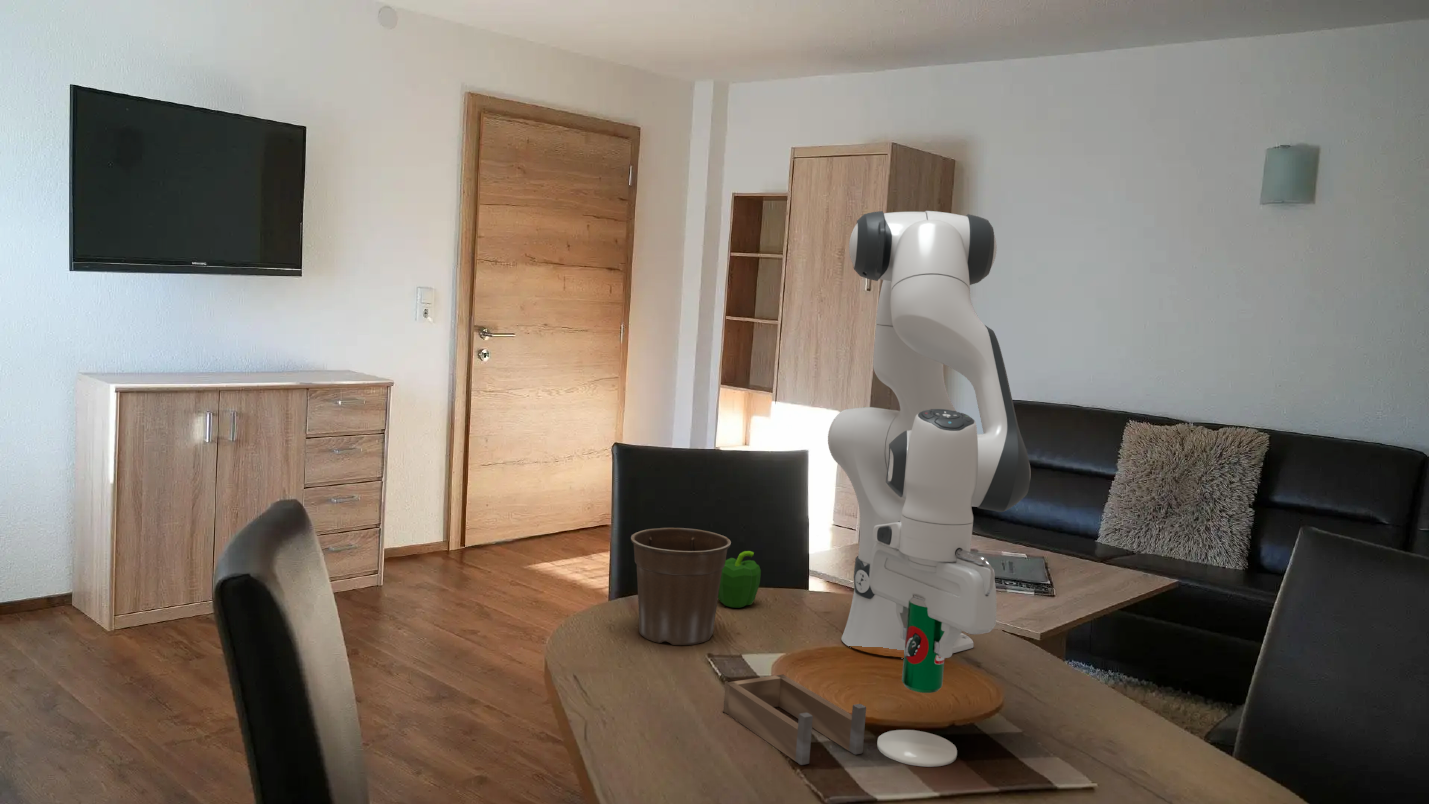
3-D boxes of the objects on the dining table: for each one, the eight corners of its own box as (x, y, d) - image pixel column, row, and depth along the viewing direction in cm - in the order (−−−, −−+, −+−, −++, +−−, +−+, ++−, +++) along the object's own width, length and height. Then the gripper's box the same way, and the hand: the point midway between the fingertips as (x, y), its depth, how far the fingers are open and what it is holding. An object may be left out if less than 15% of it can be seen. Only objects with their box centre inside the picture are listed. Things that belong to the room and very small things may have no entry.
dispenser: (781, 702, 155) (784, 660, 155) (862, 753, 140) (866, 707, 139) (723, 711, 151) (726, 668, 150) (800, 765, 135) (804, 717, 134)
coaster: (920, 729, 149) (921, 725, 148) (973, 759, 140) (973, 754, 140) (861, 740, 143) (861, 736, 143) (912, 772, 135) (912, 767, 135)
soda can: (942, 696, 138) (950, 602, 137) (900, 691, 139) (909, 597, 138) (941, 683, 143) (949, 592, 142) (901, 678, 144) (909, 587, 143)
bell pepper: (707, 607, 199) (711, 553, 198) (717, 596, 207) (721, 543, 207) (753, 613, 198) (757, 558, 197) (762, 601, 206) (765, 548, 205)
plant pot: (666, 657, 171) (673, 554, 170) (605, 628, 183) (611, 532, 182) (744, 640, 182) (751, 544, 180) (682, 615, 194) (687, 524, 192)
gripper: (1014, 558, 132) (1003, 672, 133) (902, 522, 149) (893, 623, 151) (974, 561, 129) (963, 677, 130) (865, 524, 146) (856, 627, 147)
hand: (925, 648), depth 140 cm, fingers closed on soda can, 5 cm apart
